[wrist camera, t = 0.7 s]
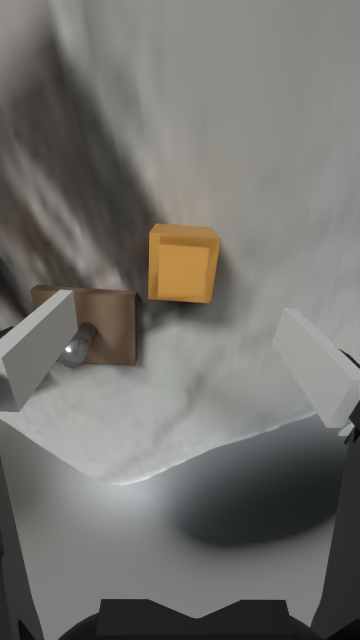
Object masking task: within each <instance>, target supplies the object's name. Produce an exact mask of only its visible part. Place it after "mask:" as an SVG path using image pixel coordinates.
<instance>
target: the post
mask: <svg viewBox="0 0 360 640" xmlns="http://www.w3.org/2000/svg"><path fill="white" fill-rule="evenodd" d="M97 334H98V331H97V328H96V327H95V326H94V325H93V324H91V323H87V322H84V323H81V324H79V325H78V331H77V332H76V333H75V335H74V336H73V338H72V339H71V340H70V342H69V343H68V345H67V346H66V347H65V349H64V350H63V352H62V353H61V354H60V356H59V357H58V360H59V361H60V363H61V364H63V365H64V366H66V367H70V368H75V367H78V366H80V365H81V363H82V362H83V360H84V358H85V356H86V355H87V353H88V351H89V349H90V347H91V346H92V344H93V342H94V340H95V338H96V337H97Z"/></svg>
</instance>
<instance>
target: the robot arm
mask: <svg viewBox="0 0 360 640" xmlns="http://www.w3.org/2000/svg"><path fill="white" fill-rule="evenodd" d="M77 331H78V326H77V318H76V310H75V302H74V294H73V291H72V290H59V291H58V292H57V293H55V294H54V295H53V296H52V297H51V298H49V299H48V300H47V301H46V302H44V303H43V304H42V305H41V306H40V307H38V308H37V309H36V310H35V311H34V312H32V313H31V314H30V315H29V316H27V317H26V318H25V319H24V320H23V321H21V322H20V323H19V324H18V325H17V326H15V327H9V328H6V329H4V330H2V331H0V411H7V412H19V411H20V410H21V409H22V407H23V406H24V404H25V403H26V402H27V400H28V399H29V397H30V396H31V395H32V393H33V392H34V391H35V389H36V388H37V386H38V385H39V384H40V382H41V381H42V379H43V378H44V377H45V375H46V374H47V372H48V371H49V370H50V368H51V367H52V365H53V364H54V363H55V361H56V360H57V359H58V357H59V356H60V354H61V353H62V352H63V350H64V349H65V347H66V346H67V345H68V343H69V342H70V340H71V339H72V338H73V336H74V335H75V333H76V332H77ZM272 344H273V346H274V347H275V349H276V350H277V352H278V354H279V355H280V357H281V358H282V360H283V361H284V363H285V364H286V366H287V367H288V369H289V371H290V372H291V374H292V375H293V377H294V378H295V380H296V381H297V383H298V384H299V386H300V387H301V389H302V391H303V392H304V394H305V395H306V397H307V398H308V400H309V401H310V403H311V404H312V406H313V408H314V409H315V411H316V412H317V414H318V415H319V417H320V418H321V420H322V421H323V423H324V424H325V426H326V427H328V428H343V427H344V426H345V424H346V422H347V421H348V419H350V420H351V421H352V423H353V424H354V425H355V426H354V428H353V429H352V431H351V433H350V434H349V436H348V437H347V439H346V440H345V442H344V444H347V443H348V442H349V446H348V451H347V458H346V463H345V468H344V474H343V480H342V486H341V492H340V497H339V503H338V508H337V514H336V520H335V525H334V531H333V537H332V542H331V548H330V553H329V559H328V565H327V571H326V576H325V582H324V588H323V593H322V598H321V601H320V604H319V606H318V608H317V611H316V613H315V615H314V617H313V621H312V623H311V626H310V628H309V627H308V626H307V625H305V624H304V623H302V622H301V621H299V620H297V619H295V618H294V617H292V616H290V615H289V612H288V609H287V604H286V601H285V600H240V601H238V602H236V603H233V604H231V605H229V606H227V607H225V608H222V609H220V610H218V611H215V612H213V613H211V614H208V615H206V616H204V617H202V618H198V619H195V618H191V617H189V616H186V615H184V614H182V613H179V612H177V611H174V610H172V609H170V608H167V607H165V606H163V605H160V604H158V603H156V602H153V601H151V600H148V599H101V604H100V610H99V613H96V614H94V615H92V616H89V617H88V618H86V619H84V620H83V621H81V622H79V623H77V624H76V625H75V626H74V627H72V628H71V629H70V630H68V631H67V632H66V633H65V634H63V635H62V636H61V637H60V638H59V639H58V640H360V365H359V364H358V363H357V362H356V361H355V360H354V359H353V358H352V357H351V356H350V355H348V354H347V353H345V352H343V351H342V350H340V349H338V348H337V347H336V346H335V345H334V344H333V343H332V342H330V341H329V340H328V339H327V338H326V337H325V336H324V335H323V334H322V333H321V332H320V331H319V330H318V329H317V328H316V327H315V326H314V325H313V324H311V323H310V322H309V321H308V320H307V319H306V318H305V317H304V316H303V315H302V314H301V313H300V312H299V311H298V310H297V309H296V308H284V309H283V312H282V315H281V318H280V321H279V324H278V327H277V330H276V333H275V336H274V339H273V342H272ZM0 640H44V637H43V633H42V629H41V625H40V621H39V618H38V615H37V612H36V609H35V606H34V603H33V599H32V595H31V591H30V587H29V582H28V578H27V574H26V569H25V565H24V560H23V556H22V551H21V547H20V542H19V538H18V533H17V529H16V524H15V520H14V516H13V511H12V506H11V502H10V497H9V493H8V488H7V484H6V480H5V476H4V470H3V466H2V462H1V457H0Z"/></svg>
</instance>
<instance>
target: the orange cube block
mask: <svg viewBox="0 0 360 640" xmlns="http://www.w3.org/2000/svg"><path fill="white" fill-rule="evenodd" d="M220 241H221V238H220V237H219V236H218V235H217V234H216V233H215V232H214V231H213V230H212V229H211V228H205V227H193V226H182V225H170V224H158V223H156V224H155V226H154V227H153V228H152V230H151V231H150V241H149V294H148V299H155V300H170V301H184V302H199V303H211V299H212V292H213V286H214V280H215V273H216V267H217V260H218V254H219V248H220Z"/></svg>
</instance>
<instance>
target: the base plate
mask: <svg viewBox="0 0 360 640" xmlns="http://www.w3.org/2000/svg"><path fill="white" fill-rule="evenodd" d="M59 290H72V291H73V294H74V302H75V310H76V318H77V326H78V325H79V324H81V323H84V322H87V323H91V324H93V325H94V326H95V327H96V328H97V331H98V334H97V337H96V338H95V340H94V342H93V344H92V346H91V347H90V349H89V351H88V353H87V355H86V356H85V358H84V360H83V362H82V363H97V364H115V365H133V366H135V365H136V360H137V292H132V291H117V290H103V289H89V288H75V287H61V286H46V285H37V286H35V287H34V288H32V289H31V290H30V291H31V296H32V300H33V304H34V309H35V310H36V309H37V308H38V307H40V306H41V305H42V304H43V303H44V302H46V301H47V300H48V299H49V298H51V297H52V296H53V295H54V294H55V293H57V292H58V291H59ZM56 361H59V360H58V359H57V360H56Z"/></svg>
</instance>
